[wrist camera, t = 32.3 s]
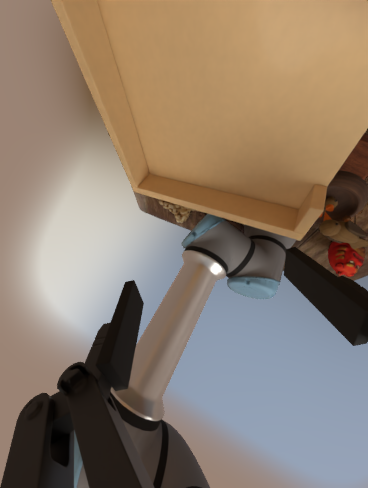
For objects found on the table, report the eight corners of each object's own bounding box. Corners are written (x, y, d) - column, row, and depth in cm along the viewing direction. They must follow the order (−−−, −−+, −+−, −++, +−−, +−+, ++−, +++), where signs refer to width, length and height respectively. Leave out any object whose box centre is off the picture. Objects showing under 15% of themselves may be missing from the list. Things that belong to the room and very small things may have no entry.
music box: (411, 141, 27) (416, 244, 19) (348, 190, 37) (336, 270, 29) (312, 112, 30) (283, 193, 22) (278, 165, 40) (251, 233, 32)
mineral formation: (187, 215, 69) (156, 191, 65) (208, 196, 59) (173, 166, 55) (180, 229, 65) (147, 204, 61) (202, 211, 54) (163, 180, 50)
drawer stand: (337, 96, 27) (312, 246, 13) (229, 93, 33) (134, 193, 19) (435, -101, 15) (1042, -541, 2) (241, -51, 21) (24, -58, 8)
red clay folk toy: (373, 247, 43) (375, 302, 37) (341, 255, 50) (338, 303, 43) (349, 231, 43) (347, 283, 36) (321, 241, 49) (314, 287, 42)
